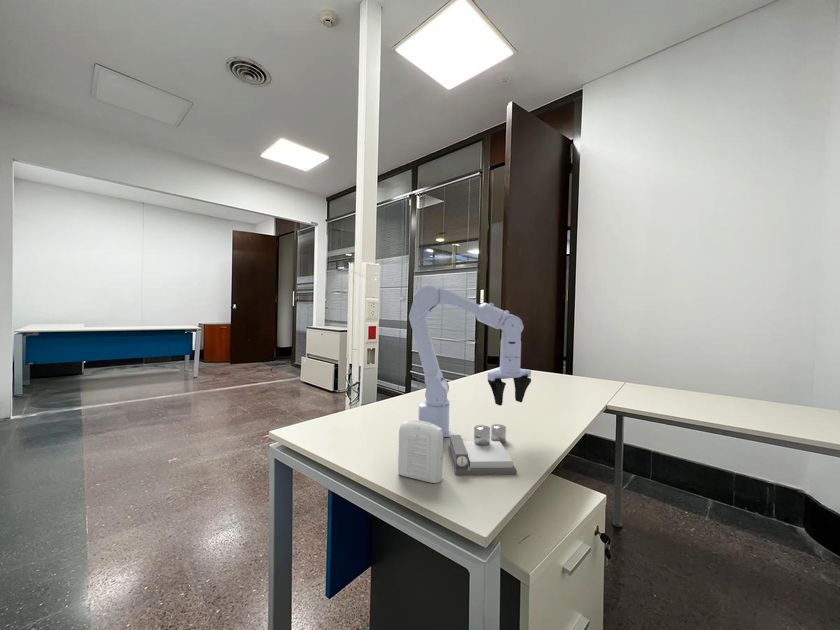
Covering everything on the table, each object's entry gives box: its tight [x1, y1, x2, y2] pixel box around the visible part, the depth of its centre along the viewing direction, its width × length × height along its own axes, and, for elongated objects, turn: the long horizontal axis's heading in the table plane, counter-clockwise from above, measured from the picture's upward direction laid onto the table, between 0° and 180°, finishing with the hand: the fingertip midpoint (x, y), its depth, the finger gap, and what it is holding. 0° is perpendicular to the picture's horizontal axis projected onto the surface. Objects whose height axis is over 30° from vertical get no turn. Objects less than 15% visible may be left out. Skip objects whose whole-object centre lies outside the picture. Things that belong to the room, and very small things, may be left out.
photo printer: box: [397, 419, 444, 484], centre depth 73 cm, size 10×4×12 cm, turn 69°
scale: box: [447, 434, 518, 476], centre depth 81 cm, size 14×13×4 cm
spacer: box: [490, 423, 507, 445], centre depth 93 cm, size 4×4×4 cm
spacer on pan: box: [473, 424, 491, 446], centre depth 85 cm, size 4×4×4 cm
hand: (508, 402), depth 95 cm, fingers open, 7 cm apart
